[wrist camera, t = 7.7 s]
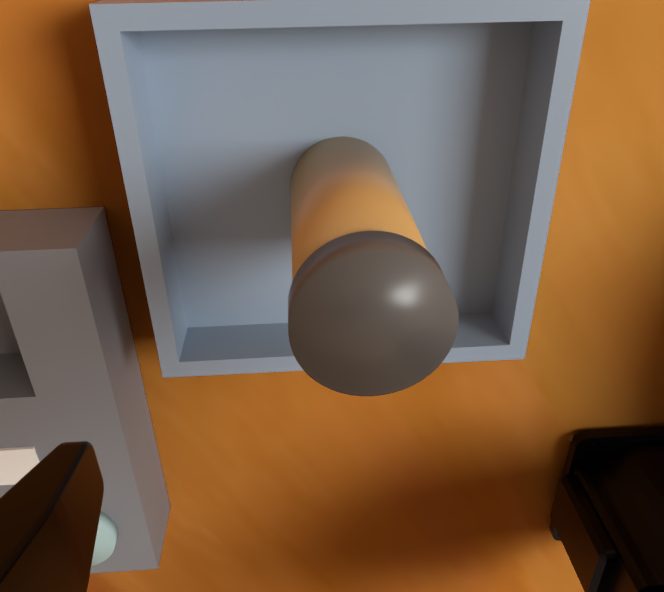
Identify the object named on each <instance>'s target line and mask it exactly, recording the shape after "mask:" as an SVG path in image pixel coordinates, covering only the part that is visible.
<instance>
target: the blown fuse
mask: <svg viewBox="0 0 664 592" xmlns="http://www.w3.org/2000/svg"><path fill="white" fill-rule="evenodd" d="M290 196H291V246H292V284H291V287H290V291H289V296H288V336H289V343H290V346H291V350H292V352H293V355H294V357H295V359H296V361H297V362H298V363H299V365H300V366H301V368H302V369H303V370H304V371H305V372H306V373H307V374H308V375H309V376H310V377H311V378H313V379H314V380H315V381H317V382H318V383H320V384H321V385H323V386H325V387H327V388H329V389H331V390H334V391H337V392H340V393H344V394H349V395H355V396H378V395H385V394H390V393H394V392H397V391H400V390H403V389H406V388H408V387H410V386H412V385H414V384H416V383H418V382H420V381H421V380H423V379H424V378H426V377H427V376H428V375H430V374H431V373H432V372H433V371H434V370H435V369H436V368H437V367H438V366H439V365H440V364H441V363H442V362H443V361H444V359H445V358H446V356H447V355H448V353H449V352H450V350H451V348H452V346H453V344H454V341H455V338H456V335H457V330H458V319H459V316H458V307H457V304H456V300H455V297H454V295H453V293H452V291H451V289H450V287H449V285H448V283H447V280H446V278H445V276H444V274H443V272H442V270H441V268H440V266H439V264H438V263H437V261H436V260H435V258H434V257H433V256H432V255H431V254H430V253H429V252H428V251H427V248H426V246H425V244H424V242H423V240H422V237H421V235H420V233H419V231H418V229H417V226H416V224H415V222H414V220H413V218H412V215H411V213H410V211H409V209H408V207H407V204H406V202H405V200H404V198H403V196H402V193H401V191H400V189H399V187H398V185H397V182H396V180H395V178H394V176H393V174H392V172H391V169H390V167H389V165H388V163H387V161H386V159H385V158H384V156H383V155H382V154H381V153H380V152H379V151H378V150H377V149H376V148H375V147H374V146H372V145H371V144H369V143H368V142H365V141H363V140H361V139H357V138H353V137H343V136H341V137H333V138H328V139H325V140H323V141H320V142H318V143H317V144H315V145H313V146H312V147H310V148H309V149H308V150H307V151H306V152H305V153H304V154H303V155H302V156H301V157H300V159H299V160H298V162H297V163H296V165H295V168H294V170H293V173H292V176H291V183H290Z"/></svg>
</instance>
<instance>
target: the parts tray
mask: <svg viewBox="0 0 664 592" xmlns="http://www.w3.org/2000/svg"><path fill="white" fill-rule="evenodd" d="M589 5H590V0H100V1H97V2H94V3H91V4H89V8H90V14H91V19H92V24H93V29H94V34H95V39H96V44H97V49H98V54H99V59H100V64H101V69H102V74H103V79H104V84H105V89H106V94H107V99H108V104H109V109H110V114H111V119H112V124H113V129H114V134H115V139H116V144H117V149H118V154H119V159H120V164H121V169H122V174H123V180H124V185H125V190H126V195H127V200H128V205H129V210H130V215H131V220H132V225H133V230H134V235H135V240H136V245H137V250H138V255H139V260H140V265H141V270H142V275H143V280H144V285H145V290H146V295H147V300H148V305H149V310H150V315H151V320H152V325H153V330H154V335H155V340H156V346H157V351H158V356H159V361H160V366H161V371H162V376H163V378H170V377H189V376H208V375H227V374H245V373H264V372H283V371H302V370H303V369H302V368H301V366H300V365H299V363H298V362H297V361H296V359H295V357H294V355H293V352H292V350H291V346H290V343H289V336H288V296H289V291H290V287H291V284H292V246H291V196H290V183H291V176H292V173H293V170H294V168H295V165H296V163H297V162H298V160H299V159H300V157H301V156H302V155H303V154H304V153H305V152H306V151H307V150H308V149H309V148H310V147H312V146H313V145H315V144H317V143H318V142H320V141H323V140H325V139H328V138H333V137H341V136H343V137H353V138H357V139H361V140H363V141H365V142H368V143H369V144H371V145H372V146H374V147H375V148H376V149H377V150H378V151H379V152H380V153H381V154H382V155H383V156H384V158H385V159H386V161H387V163H388V165H389V167H390V169H391V172H392V174H393V176H394V178H395V180H396V182H397V185H398V187H399V189H400V191H401V193H402V196H403V198H404V200H405V202H406V204H407V207H408V209H409V211H410V213H411V215H412V218H413V220H414V222H415V224H416V226H417V229H418V231H419V233H420V235H421V237H422V240H423V242H424V244H425V246H426V248H427V251H428V252H429V253H430V254H431V255H432V256H433V257H434V258H435V260H436V261H437V263H438V264H439V266H440V268H441V270H442V272H443V274H444V276H445V278H446V280H447V283H448V285H449V287H450V289H451V291H452V293H453V295H454V297H455V300H456V304H457V307H458V316H459V319H458V330H457V335H456V338H455V341H454V344H453V346H452V348H451V350H450V352H449V353H448V355H447V356H446V358H445V359H444V361H443V362H442V363H454V362H473V361H492V360H511V359H525V355H526V350H527V344H528V339H529V333H530V328H531V322H532V317H533V311H534V306H535V300H536V295H537V290H538V284H539V279H540V273H541V268H542V262H543V257H544V251H545V246H546V240H547V235H548V229H549V224H550V218H551V213H552V208H553V202H554V197H555V191H556V186H557V180H558V175H559V169H560V164H561V158H562V153H563V147H564V142H565V137H566V131H567V126H568V120H569V115H570V109H571V104H572V98H573V93H574V87H575V82H576V76H577V71H578V65H579V60H580V55H581V49H582V44H583V38H584V33H585V27H586V22H587V16H588V11H589Z"/></svg>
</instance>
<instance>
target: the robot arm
mask: <svg viewBox="0 0 664 592" xmlns="http://www.w3.org/2000/svg"><path fill="white" fill-rule="evenodd" d="M103 494H104V483H103V478H102V474H101V471H100V467H99V464H98V461H97V457H96V454H95V451H94V448H93V446H92V444H91V443H90V442H87V441H78V442H64V443H61V444H60V445H58V446H57V447H56V448H55V449H53V450H52V451H51V452H50V453H49V454H48V455H47V456H46V457H45V458H43V459H42V460H41V461H40V462H39V463H38V464H37V465H36V466H35V467H34V468H32V469H31V470H30V471H29V472H28V473H27V474H26V475H25V476H24V477H23V478H21V479H20V480H19V481H18V482H17V483H16V484H15V485H14V486H13V487H12V488H10V489H9V490H8V491H7V492H6V493H5V494H4V495H3V496H2V497H1V498H0V592H87V587H88V582H89V576H90V570H91V565H92V559H93V553H94V547H95V541H96V536H97V530H98V524H99V518H100V512H101V507H102V501H103ZM550 516H551V519H552V520H551V524H550V532H551V534H552V536H553V538H554V539H556V540H559V541H562V543H563V545H564V547H565V550H566V552H567V554H568V556H569V558H570V560H571V563H572V565H573V567H574V569H575V571H576V574H577V576H578V578H579V580H580V582H581V584H582V587H583V589H584V591H585V592H664V427H650V428H633V429H616V430H599V431H584V432H580V433H578V434H576V435H575V436H574V437H573V439H572V441H571V445H570V449H569V453H568V456H567V460H566V464H565V468H564V472H563V475H562V476H561V478H560V479H559V483H558V487H557V491H556V495H555V499H554V503H553V507H552V511H551V515H550Z"/></svg>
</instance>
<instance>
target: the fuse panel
mask: <svg viewBox="0 0 664 592" xmlns="http://www.w3.org/2000/svg"><path fill="white" fill-rule="evenodd" d="M78 441H87V442H90V443H91V444H92V446H93V448H94V451H95V454H96V457H97V461H98V464H99V467H100V471H101V474H102V478H103V483H104V494H103V501H102V507H101V512H100V518H99V524H98V530H97V536H96V541H95V547H94V553H93V559H92V565H91V570H90V574H91V573H106V572H120V571H135V570H150V569H158V567H159V562H160V557H161V552H162V547H163V542H164V537H165V532H166V527H167V522H168V517H169V512H170V503H169V498H168V494H167V489H166V485H165V480H164V475H163V471H162V466H161V462H160V457H159V453H158V448H157V444H156V439H155V435H154V430H153V426H152V421H151V417H150V412H149V408H148V403H147V399H146V394H145V390H144V385H143V381H142V376H141V372H140V367H139V362H138V358H137V353H136V349H135V344H134V340H133V335H132V331H131V326H130V322H129V317H128V313H127V308H126V304H125V299H124V295H123V290H122V286H121V281H120V277H119V272H118V268H117V263H116V258H115V254H114V249H113V245H112V240H111V236H110V231H109V227H108V222H107V218H106V213H105V209H104V207H84V208H58V209H33V210H7V211H0V498H1V497H2V496H3V495H4V494H5V493H6V492H7V491H8V490H9V489H10V488H12V487H13V486H14V485H15V484H16V483H17V482H18V481H19V480H20V479H21V478H23V477H24V476H25V475H26V474H27V473H28V472H29V471H30V470H31V469H32V468H34V467H35V466H36V465H37V464H38V463H39V462H40V461H41V460H42V459H43V458H45V457H46V456H47V455H48V454H49V453H50V452H51V451H52V450H53V449H55V448H56V447H57V446H58V445H60V444H61V443H64V442H78Z"/></svg>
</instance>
